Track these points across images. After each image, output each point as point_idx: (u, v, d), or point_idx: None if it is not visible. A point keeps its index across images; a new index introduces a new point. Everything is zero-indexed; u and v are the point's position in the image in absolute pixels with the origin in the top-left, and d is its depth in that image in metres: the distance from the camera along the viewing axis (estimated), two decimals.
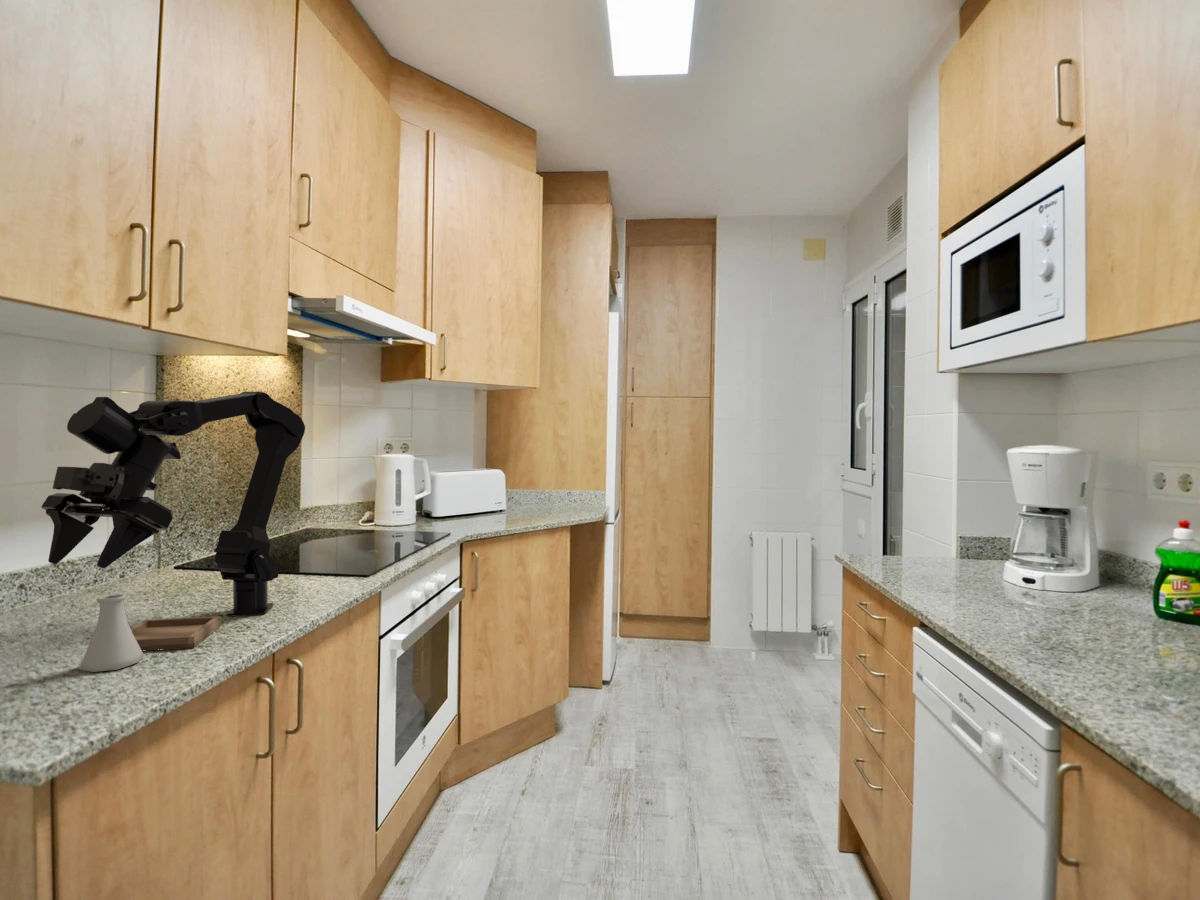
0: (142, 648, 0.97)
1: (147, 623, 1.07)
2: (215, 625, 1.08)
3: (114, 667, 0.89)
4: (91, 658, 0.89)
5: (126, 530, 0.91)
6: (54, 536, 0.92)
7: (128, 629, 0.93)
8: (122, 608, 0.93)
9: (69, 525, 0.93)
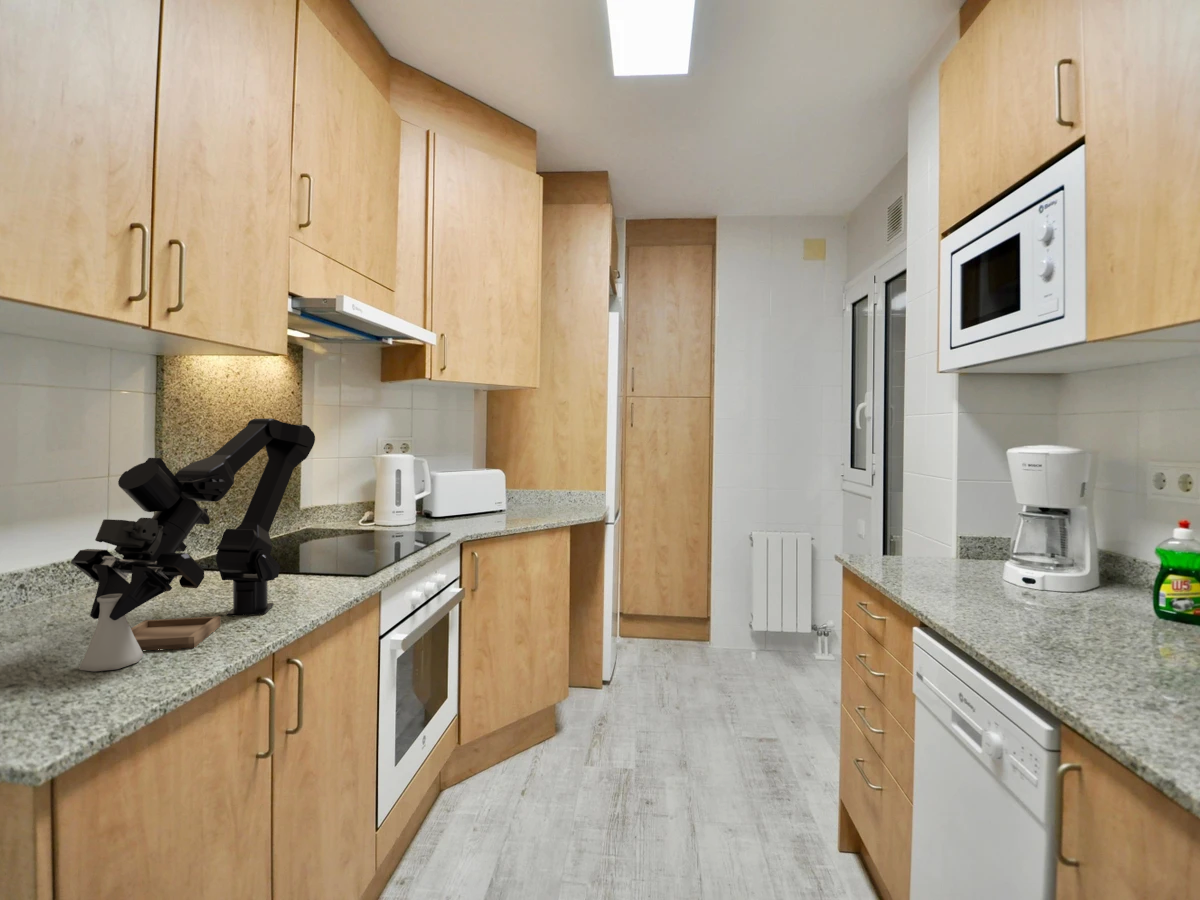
0: (142, 648, 0.97)
1: (147, 623, 1.07)
2: (215, 625, 1.08)
3: (114, 666, 0.89)
4: (91, 657, 0.89)
5: (142, 584, 0.94)
6: (98, 591, 0.92)
7: (128, 629, 0.93)
8: None
9: (114, 581, 0.94)
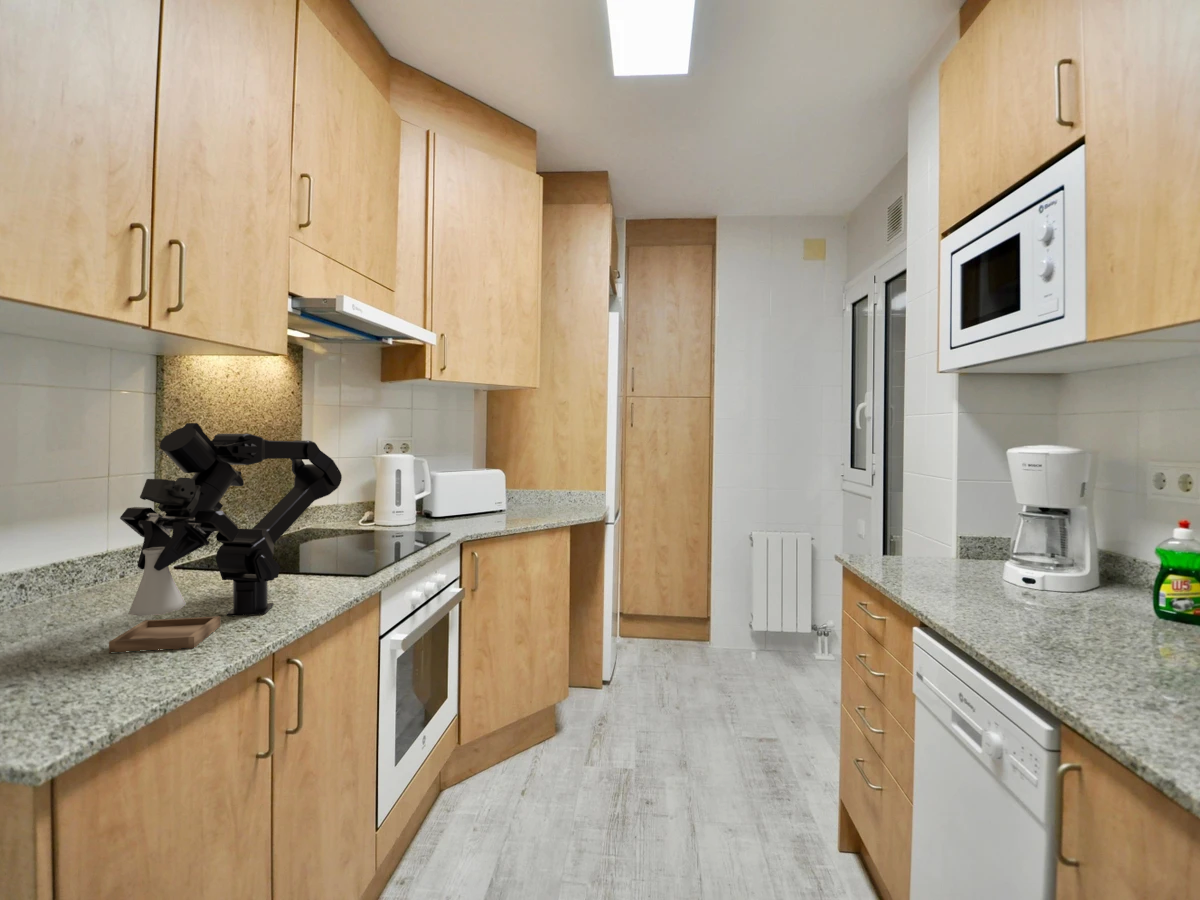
0: (142, 648, 0.97)
1: (147, 623, 1.07)
2: (215, 625, 1.08)
3: (159, 612, 0.98)
4: (139, 603, 0.98)
5: (182, 539, 1.02)
6: (144, 544, 1.01)
7: (171, 579, 1.01)
8: None
9: (158, 536, 1.03)
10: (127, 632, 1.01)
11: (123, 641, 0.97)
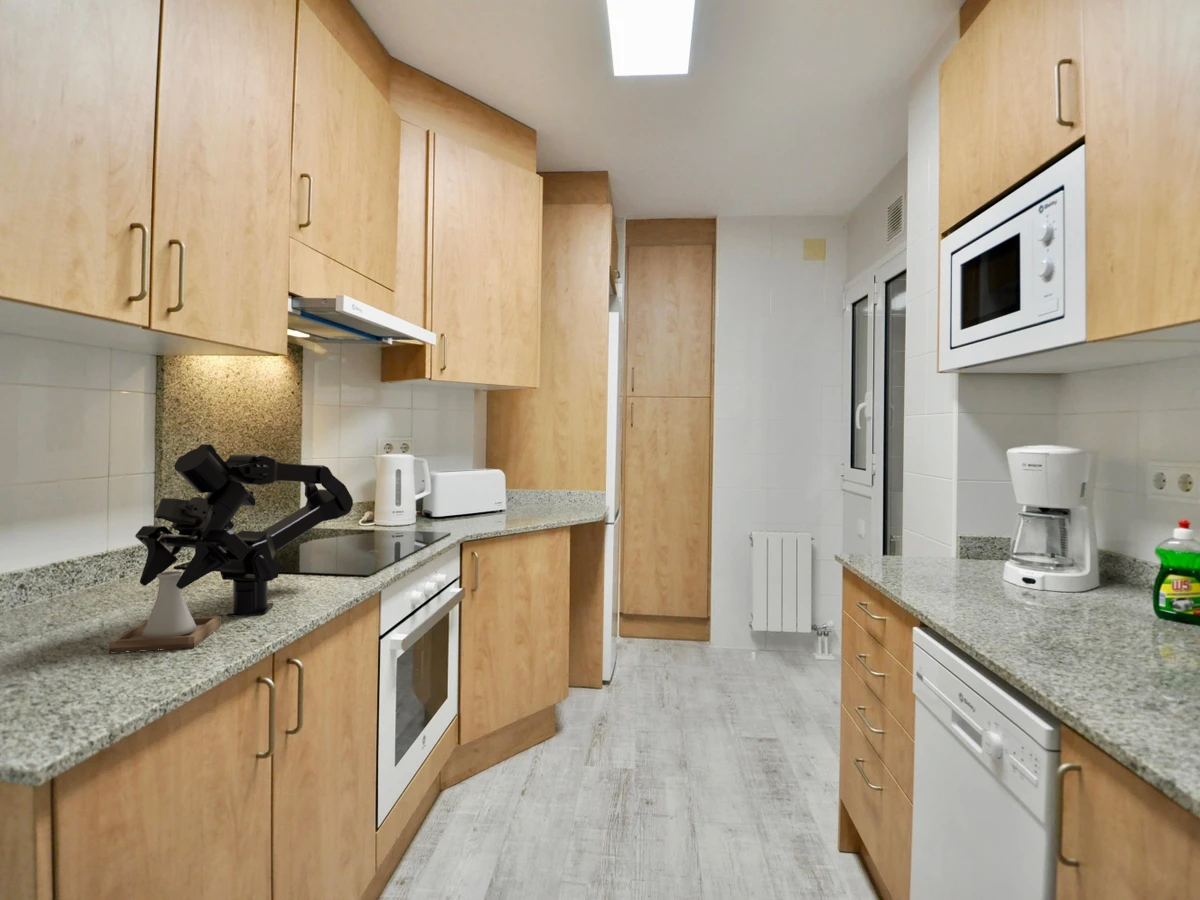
0: (142, 648, 0.97)
1: None
2: (215, 625, 1.08)
3: (171, 635, 1.01)
4: (152, 627, 1.01)
5: (204, 557, 1.04)
6: (147, 561, 1.05)
7: (183, 603, 1.04)
8: None
9: (160, 553, 1.06)
10: (127, 632, 1.01)
11: (123, 641, 0.97)
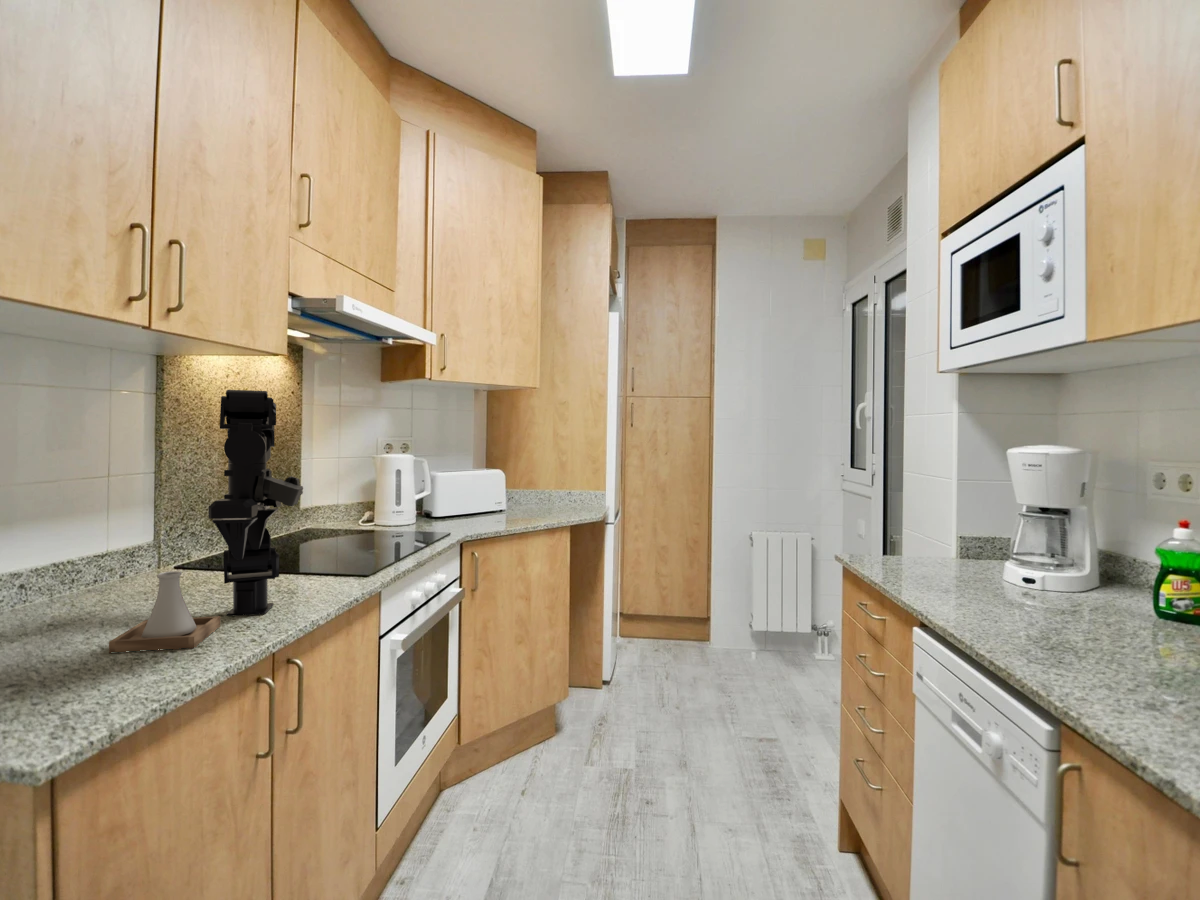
0: (142, 648, 0.97)
1: None
2: (215, 625, 1.08)
3: (171, 635, 1.01)
4: (152, 627, 1.01)
5: None
6: (245, 538, 1.03)
7: (183, 603, 1.04)
8: (178, 584, 1.04)
9: None
10: (127, 632, 1.01)
11: (123, 641, 0.97)
